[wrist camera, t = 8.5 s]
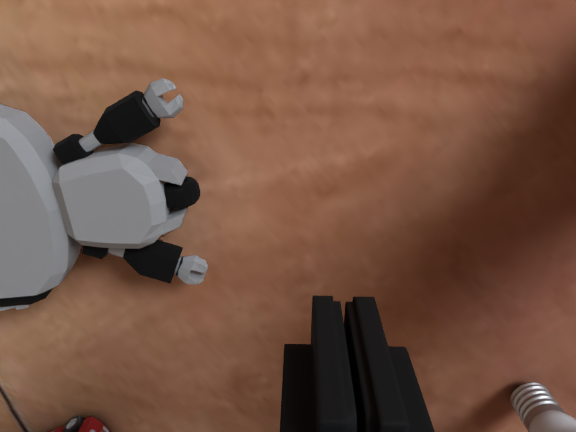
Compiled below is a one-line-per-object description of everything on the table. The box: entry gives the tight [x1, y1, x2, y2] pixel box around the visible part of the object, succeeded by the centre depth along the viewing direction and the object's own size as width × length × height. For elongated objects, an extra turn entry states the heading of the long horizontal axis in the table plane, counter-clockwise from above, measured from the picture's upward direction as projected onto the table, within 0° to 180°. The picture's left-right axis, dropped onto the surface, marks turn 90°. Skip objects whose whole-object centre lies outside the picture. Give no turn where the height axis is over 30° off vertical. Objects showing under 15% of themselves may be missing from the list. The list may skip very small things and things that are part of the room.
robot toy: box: [0, 78, 208, 311], centre depth 22 cm, size 12×4×15 cm
